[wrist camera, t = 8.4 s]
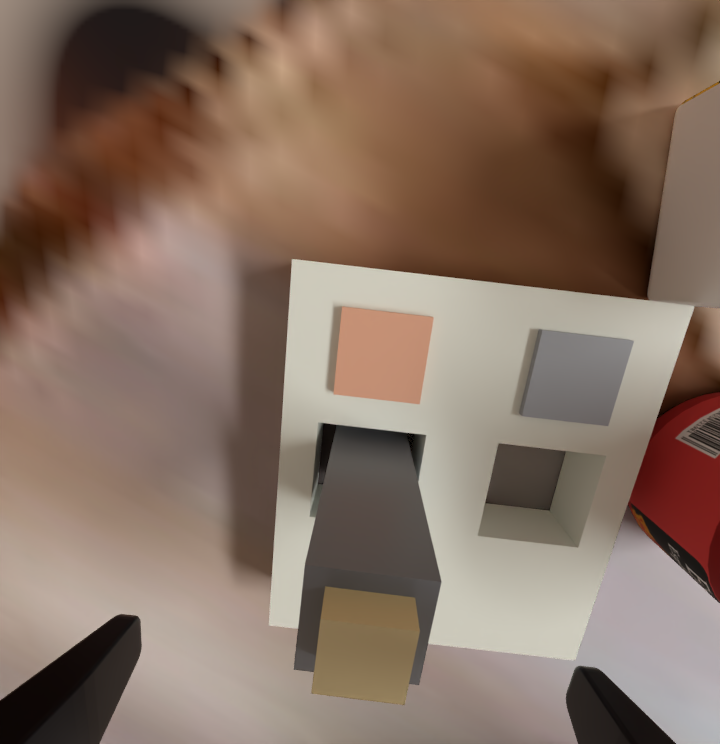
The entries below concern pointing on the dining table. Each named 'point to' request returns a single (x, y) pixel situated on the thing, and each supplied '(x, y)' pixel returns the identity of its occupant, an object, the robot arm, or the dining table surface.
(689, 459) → the canned food
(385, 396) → the socket board
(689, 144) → the medicine bottle
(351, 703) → the dining table surface
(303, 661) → the plug
